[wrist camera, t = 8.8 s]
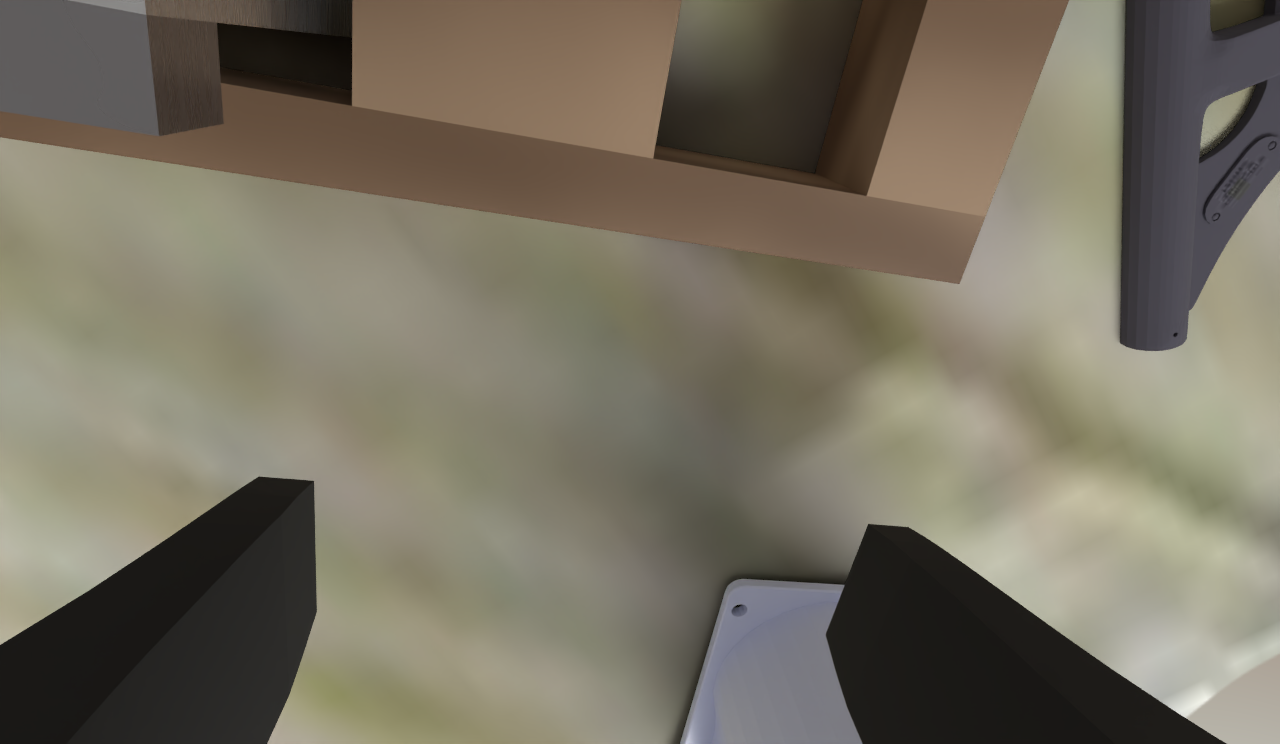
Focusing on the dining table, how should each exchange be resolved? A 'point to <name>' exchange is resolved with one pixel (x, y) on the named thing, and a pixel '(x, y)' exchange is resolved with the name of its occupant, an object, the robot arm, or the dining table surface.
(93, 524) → the dining table surface
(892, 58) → the brown holed block
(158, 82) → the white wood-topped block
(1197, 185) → the bracket
